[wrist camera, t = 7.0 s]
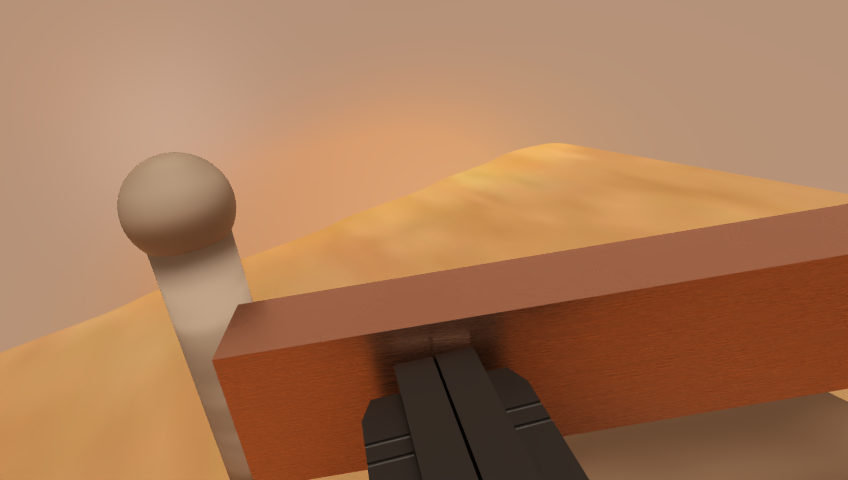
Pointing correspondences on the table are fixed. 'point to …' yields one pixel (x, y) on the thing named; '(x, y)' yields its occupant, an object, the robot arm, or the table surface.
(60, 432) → the table surface
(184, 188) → the base
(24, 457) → the table surface
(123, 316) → the table surface
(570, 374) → the capstan
